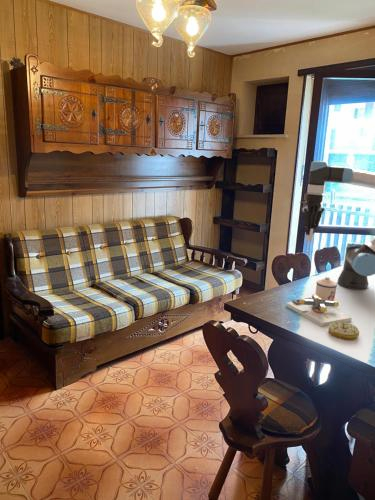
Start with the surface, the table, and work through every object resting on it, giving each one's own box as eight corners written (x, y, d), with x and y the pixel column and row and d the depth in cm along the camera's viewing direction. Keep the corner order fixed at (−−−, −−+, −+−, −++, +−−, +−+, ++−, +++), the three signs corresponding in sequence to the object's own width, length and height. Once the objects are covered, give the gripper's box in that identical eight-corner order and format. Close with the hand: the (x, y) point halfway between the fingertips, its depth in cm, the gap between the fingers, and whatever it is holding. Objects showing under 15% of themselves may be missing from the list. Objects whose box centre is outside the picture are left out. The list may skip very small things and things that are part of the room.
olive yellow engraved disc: (327, 326, 154) (329, 318, 153) (356, 331, 151) (358, 322, 150) (328, 337, 144) (329, 328, 144) (359, 343, 141) (361, 334, 140)
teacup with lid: (330, 306, 175) (334, 282, 172) (311, 301, 180) (314, 277, 177) (338, 299, 184) (342, 276, 181) (320, 294, 190) (323, 271, 187)
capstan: (294, 300, 174) (295, 290, 173) (331, 303, 174) (333, 293, 172) (302, 315, 158) (304, 304, 157) (344, 318, 157) (345, 307, 156)
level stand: (313, 301, 179) (314, 295, 179) (351, 321, 160) (352, 314, 159) (285, 306, 172) (286, 299, 172) (320, 326, 153) (322, 319, 152)
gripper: (319, 192, 193) (313, 238, 199) (299, 192, 188) (293, 240, 193) (330, 194, 187) (324, 242, 192) (310, 194, 181) (303, 243, 187)
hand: (308, 241), depth 193 cm, fingers closed
